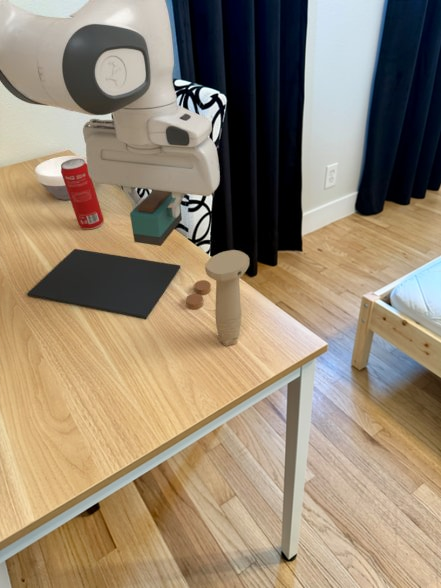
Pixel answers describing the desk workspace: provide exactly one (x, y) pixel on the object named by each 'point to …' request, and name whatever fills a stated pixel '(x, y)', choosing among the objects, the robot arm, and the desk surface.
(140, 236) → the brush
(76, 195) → the beverage can
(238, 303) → the handle
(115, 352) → the desk surface
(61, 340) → the desk surface
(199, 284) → the grit
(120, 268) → the mat
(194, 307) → the brown short cylinder
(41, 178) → the bowl
